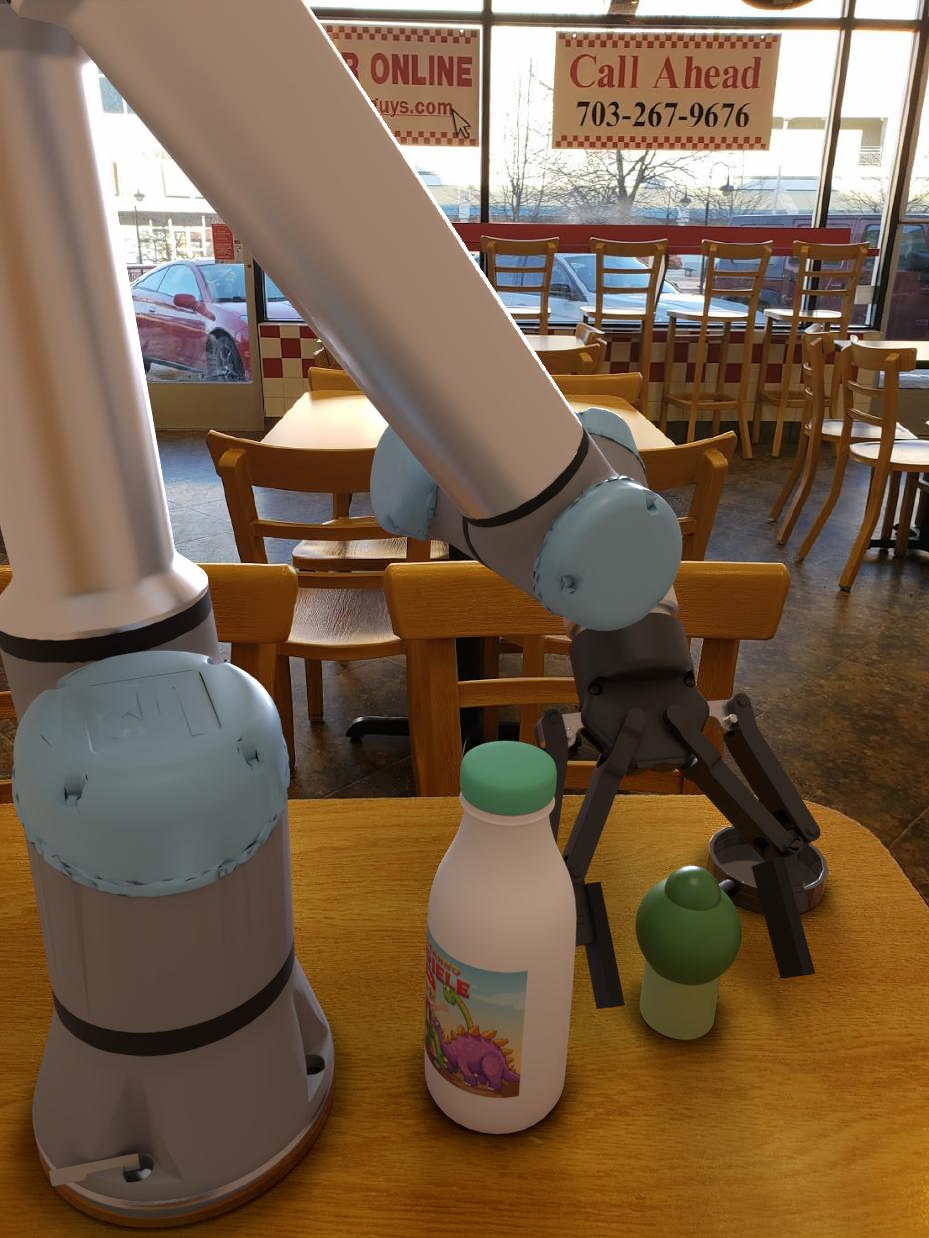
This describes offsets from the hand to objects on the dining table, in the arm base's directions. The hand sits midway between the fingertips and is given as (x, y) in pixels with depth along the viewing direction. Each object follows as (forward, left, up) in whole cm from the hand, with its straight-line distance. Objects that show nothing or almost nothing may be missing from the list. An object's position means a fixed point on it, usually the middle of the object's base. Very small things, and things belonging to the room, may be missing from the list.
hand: (706, 991), depth 53 cm
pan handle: (-7, +9, -4) cm, 12 cm away
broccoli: (-3, +1, -4) cm, 5 cm away
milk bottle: (-6, -10, -4) cm, 13 cm away
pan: (-7, +17, -4) cm, 19 cm away
